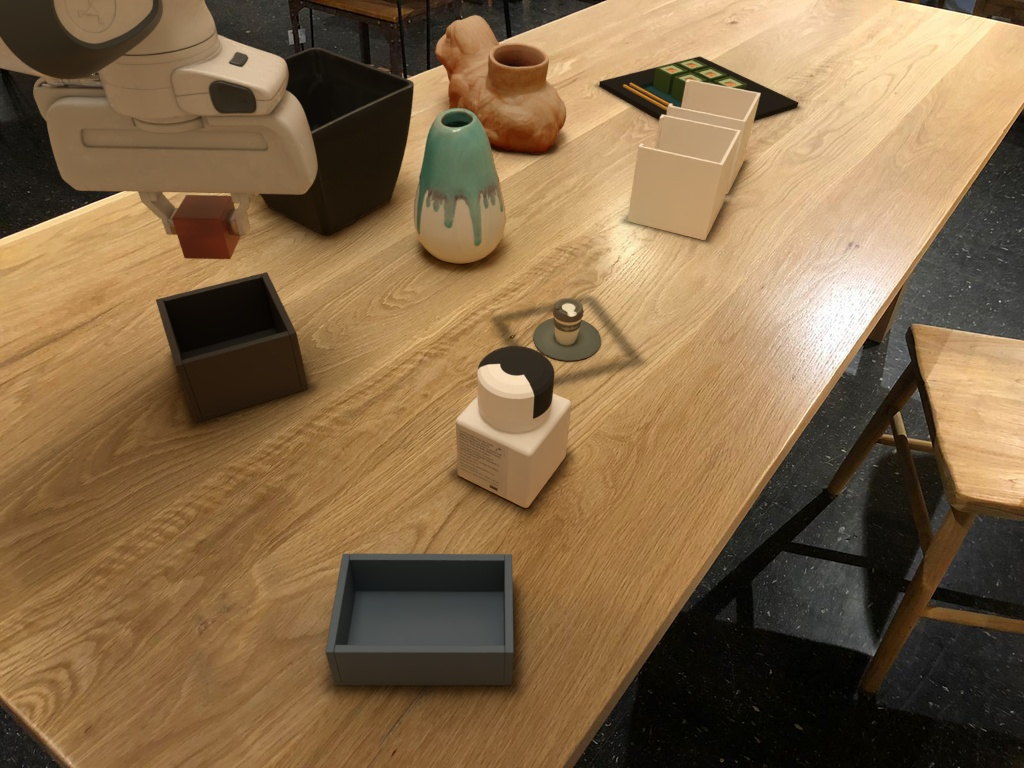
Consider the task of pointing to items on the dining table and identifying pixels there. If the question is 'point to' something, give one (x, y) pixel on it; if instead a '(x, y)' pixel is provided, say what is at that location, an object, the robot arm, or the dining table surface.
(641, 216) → the storage container
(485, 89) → the ceramic vessel
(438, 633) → the box
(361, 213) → the flower pot
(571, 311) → the coffee cup
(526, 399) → the container
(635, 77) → the sushi
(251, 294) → the basket
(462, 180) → the vase
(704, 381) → the dining table surface
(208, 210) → the block
